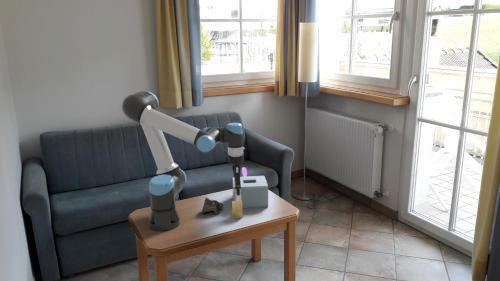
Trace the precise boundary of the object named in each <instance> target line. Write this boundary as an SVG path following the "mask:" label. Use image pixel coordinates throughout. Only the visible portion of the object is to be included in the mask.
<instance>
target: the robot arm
mask: <svg viewBox="0 0 500 281" xmlns="http://www.w3.org/2000/svg"><path fill="white" fill-rule="evenodd" d="M159 103H160V102H159V99H158V97H157V96H156V95H155V93H154V92H151V91H148V90H142V91H139V92H136V93H132V94H129V95H127V96H126V97H125V98H124V99H123V101H122V104H121V109H122V112H123V114H124V116H126V118H128V119H129V120H131V121H133V122H135V123H137V124H139V125H141V128H142V130H143V132H144V136H145V139H146V141H147V143H148V145H149V149H150V151H151V153H152V156H153V158H154V162H155V165H156V167H157V170H156V172H155V173H156V176H154V177H152V178H151V179H150V180H149V183H148V190H149V191H148V192H149V200H150V201H149V202H150V213H149V217H148V222H147V223H148V227H149V229H151V230H152V231H158V232H159V231H161V232H162V231H163V232H164V231H169V230H172V229H175V228H177V227H178V226H179V225H180V223H181V218H180V215H179V213H178V210H177V209H176V197H177V195H178V194H179V193H180V192H181V191H182V190H183V189H184V188H185V186H186V184H187V175H186V172H185V171H184V170H182V169H181V168H180V166H179V164H177V163H176V162H174V161H175V160H174V159H173V155H172V154H171V150H170V147H169V145H168V142H167V140H166V137H165V134H164V133H166V134H169V135H170V136H172V137H175V138H177V139H179V140H182V141H184V142H187V143H189V144H192V145H194V146H195V147H197V149H198V150H199V151H200V152H203V153H208V152H210V151H212V150H213V149H214V148H215V147H216V145H218V144H227V155H228V159H227V160H228V163H229V164H231V165H232V166H231V169H232V173H233V177H234V178H235V179H234V191H235V197H236V201H241V183H240V177H241V176H242V168H241V164H243V163H244V162H245V158H244V157H245V155H244V150H245V149H246V148H245V147H244V131H243V124H242V123H240V122H230V123H227V124H226V127H218V126H217V127H216V126H215V127H212V126H209V127H204V128H203V129H199V128H197V127H195V126H193V125H190V124H188V123H187V122H184V121H181V120H179V119H176V118H175V117H172V116H170V115H167V114H166V113H163V112H161V111H159V109H158V107H159ZM163 132H164V133H163Z"/></svg>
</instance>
